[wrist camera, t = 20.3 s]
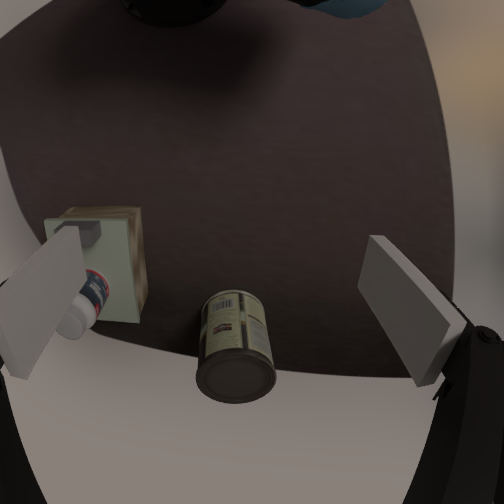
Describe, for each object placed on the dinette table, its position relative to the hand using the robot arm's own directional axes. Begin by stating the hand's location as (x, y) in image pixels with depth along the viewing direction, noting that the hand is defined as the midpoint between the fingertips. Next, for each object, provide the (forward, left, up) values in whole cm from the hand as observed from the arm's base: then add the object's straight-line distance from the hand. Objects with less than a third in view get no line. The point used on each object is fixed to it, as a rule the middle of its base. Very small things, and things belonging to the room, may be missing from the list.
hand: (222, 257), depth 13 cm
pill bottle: (+15, -17, -21) cm, 31 cm away
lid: (+13, -17, -22) cm, 31 cm away
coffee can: (+25, +2, -29) cm, 38 cm away
